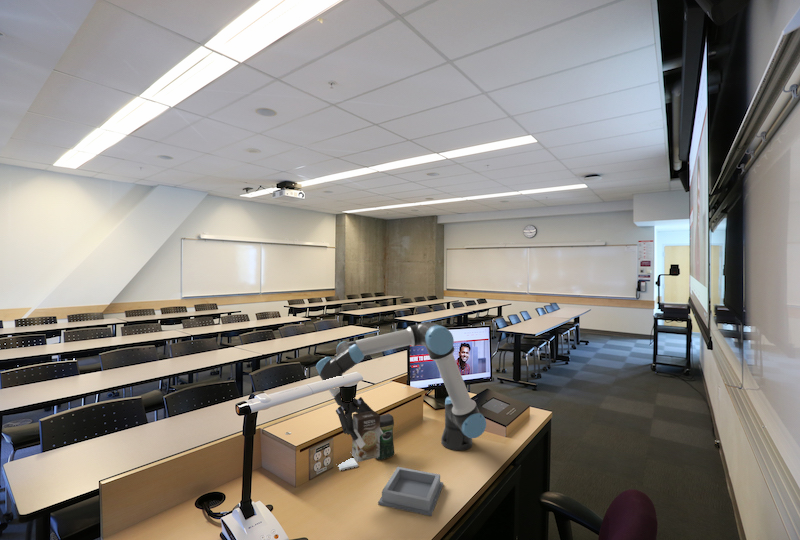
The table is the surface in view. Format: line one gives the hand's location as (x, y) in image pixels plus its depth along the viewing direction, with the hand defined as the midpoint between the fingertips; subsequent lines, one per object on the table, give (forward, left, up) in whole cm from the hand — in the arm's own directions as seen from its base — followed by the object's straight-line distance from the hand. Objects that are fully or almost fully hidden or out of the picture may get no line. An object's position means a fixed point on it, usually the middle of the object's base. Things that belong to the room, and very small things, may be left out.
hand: (372, 440), depth 144 cm
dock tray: (-6, +14, -21) cm, 26 cm away
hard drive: (-19, -21, -22) cm, 35 cm away
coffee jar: (-30, -7, -21) cm, 37 cm away
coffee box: (-1, -3, -7) cm, 8 cm away
